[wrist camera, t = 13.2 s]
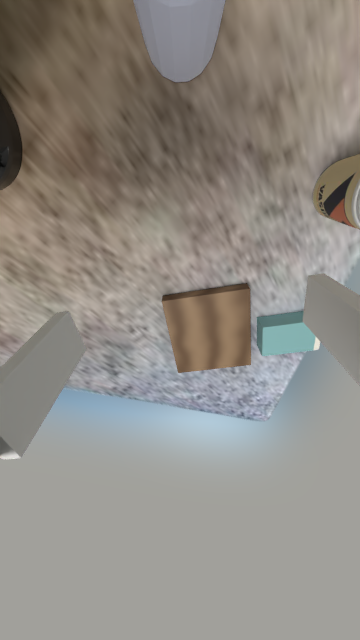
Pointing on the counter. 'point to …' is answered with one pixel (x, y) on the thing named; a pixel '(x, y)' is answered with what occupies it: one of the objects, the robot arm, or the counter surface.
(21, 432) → the robot arm
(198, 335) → the board
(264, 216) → the counter surface
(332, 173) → the white-capped cylinder
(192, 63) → the soap bottle
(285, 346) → the block
